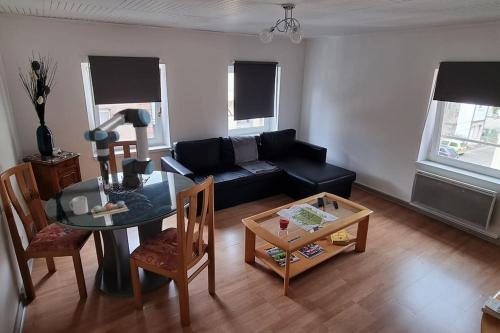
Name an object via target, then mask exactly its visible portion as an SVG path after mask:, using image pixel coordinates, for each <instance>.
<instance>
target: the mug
mask: <svg viewBox="0 0 500 333" xmlns="http://www.w3.org/2000/svg"><path fill="white" fill-rule="evenodd" d="M71 205H72V206H71ZM69 208H70V210H72V211H73V214H74V215H77V216H78V215H85V214H86V213H88V212H89V206H88V200H87V197H86V196H82V195H81V196H76V197H74V198H72V199H71V200H70V201H69Z"/></svg>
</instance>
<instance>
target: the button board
mask: <svg viewBox="0 0 500 333" xmlns="http://www.w3.org/2000/svg"><path fill="white" fill-rule="evenodd" d="M127 211H130V209H129V208H128V206H127V205H126V204H125V205H124V206H123V207H122V208H119V207H118V206H117V203H113V208H112V209H111V210H108V209H106V207H105V206H101V211H100V212H99V213H96V212H94V210H93V208H92V209H90V212H91V214H92V216H93V219H96V218H100V217H101V218H102V217H105V216H109V215H113V214H118V213H123V212H127Z"/></svg>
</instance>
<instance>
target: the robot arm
mask: <svg viewBox="0 0 500 333" xmlns="http://www.w3.org/2000/svg"><path fill="white" fill-rule="evenodd" d="M151 119H152V117H151V114H150V112H149V110H147V109H145V108H125V109H122V110H120V111H117V112H116V113H114V114H113V116H112V117H111V118H109V119H107V120H106V121H104V122H103V123H101V124H100V125H98V126H96V128H94V129H91V130H89V129H88V130H87V129H86V130H85V131H84V133H83V137H84V139H85V141H87V142H91V143H92V142H93V143H94V142H95V149H96V150H95V152H96V159H97V162H99V163H100V167H101V174H102V178H103V179H102V180H103V184H104V190H108V189H110V182H109V181H110V180H109V179H110V174H109V168H110V167H109V163H108V162H109V161H110V160H111V155H110V148H109V144H112V143H116V142H118V141H119V140H120V136H121V135H120V134H119V132H118V131H116V129H117V128H118V127H119V126H123V125H124V124H132V128H134V132H135V138H136V139H135V140H136V148H137V149H136V150H137V157H135V156H134V157H133V156H132V157H126V158H123V159H122V161H121V168H122V181H121V186H122V188H126V189H127V188H129V189H131V188H136V187H139V186H140V185H141V184H142V182H141V180H140V177H139V175H145V176H148V175H149V176H150V175H152V174H153V173H154V171H155V166H156V164H155V161H154V160H152V157H151V156H150V152H149V150H150V148H149V138H148V132H147V131H148V130H147V128H148V127H149V125H150V123H151V121H152V120H151Z"/></svg>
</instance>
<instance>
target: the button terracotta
mask: <svg viewBox="0 0 500 333" xmlns="http://www.w3.org/2000/svg"><path fill="white" fill-rule="evenodd" d="M113 205H114V203H112V202H108V203H106V204H104V207H106V209H107V210H108V211H111V210H112V208H113Z"/></svg>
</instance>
